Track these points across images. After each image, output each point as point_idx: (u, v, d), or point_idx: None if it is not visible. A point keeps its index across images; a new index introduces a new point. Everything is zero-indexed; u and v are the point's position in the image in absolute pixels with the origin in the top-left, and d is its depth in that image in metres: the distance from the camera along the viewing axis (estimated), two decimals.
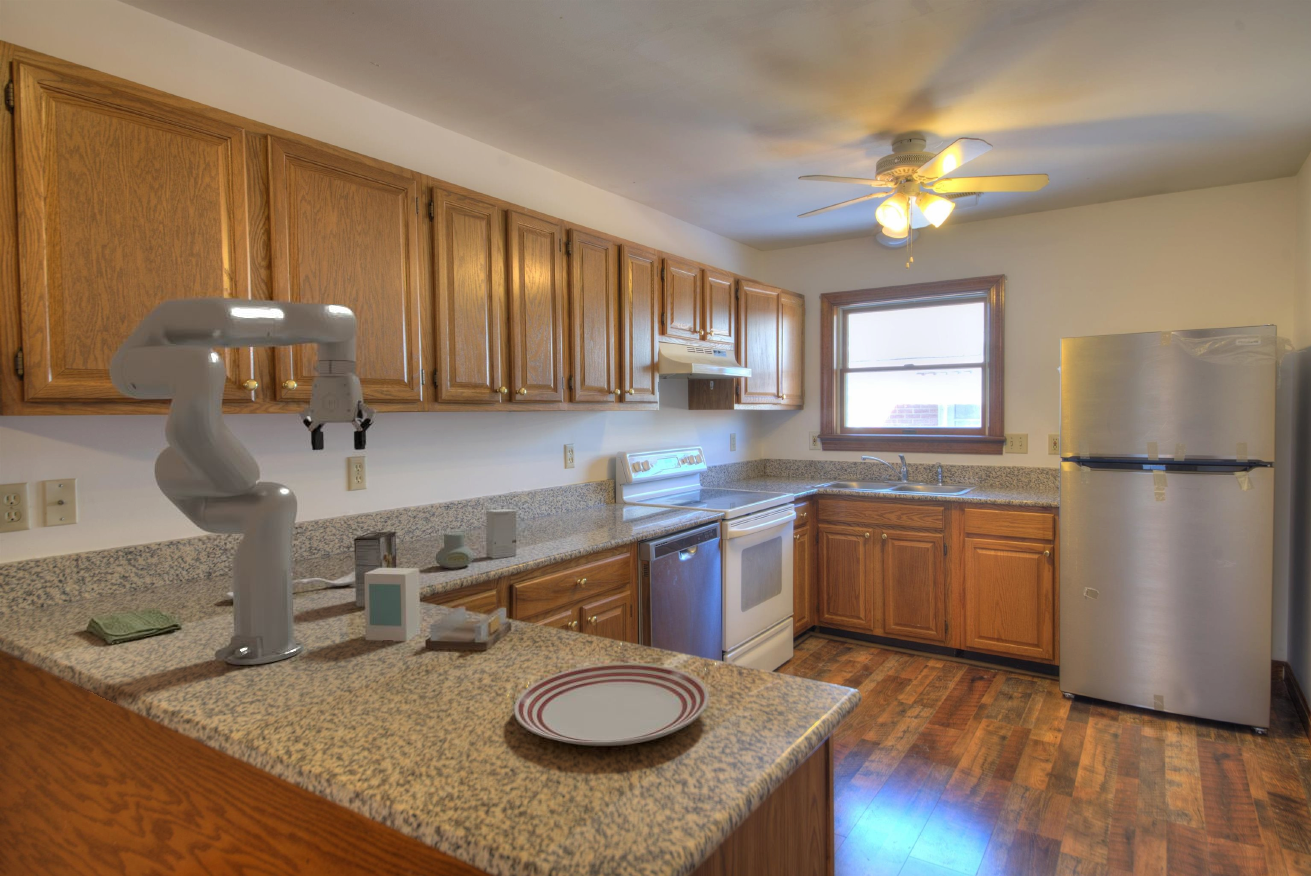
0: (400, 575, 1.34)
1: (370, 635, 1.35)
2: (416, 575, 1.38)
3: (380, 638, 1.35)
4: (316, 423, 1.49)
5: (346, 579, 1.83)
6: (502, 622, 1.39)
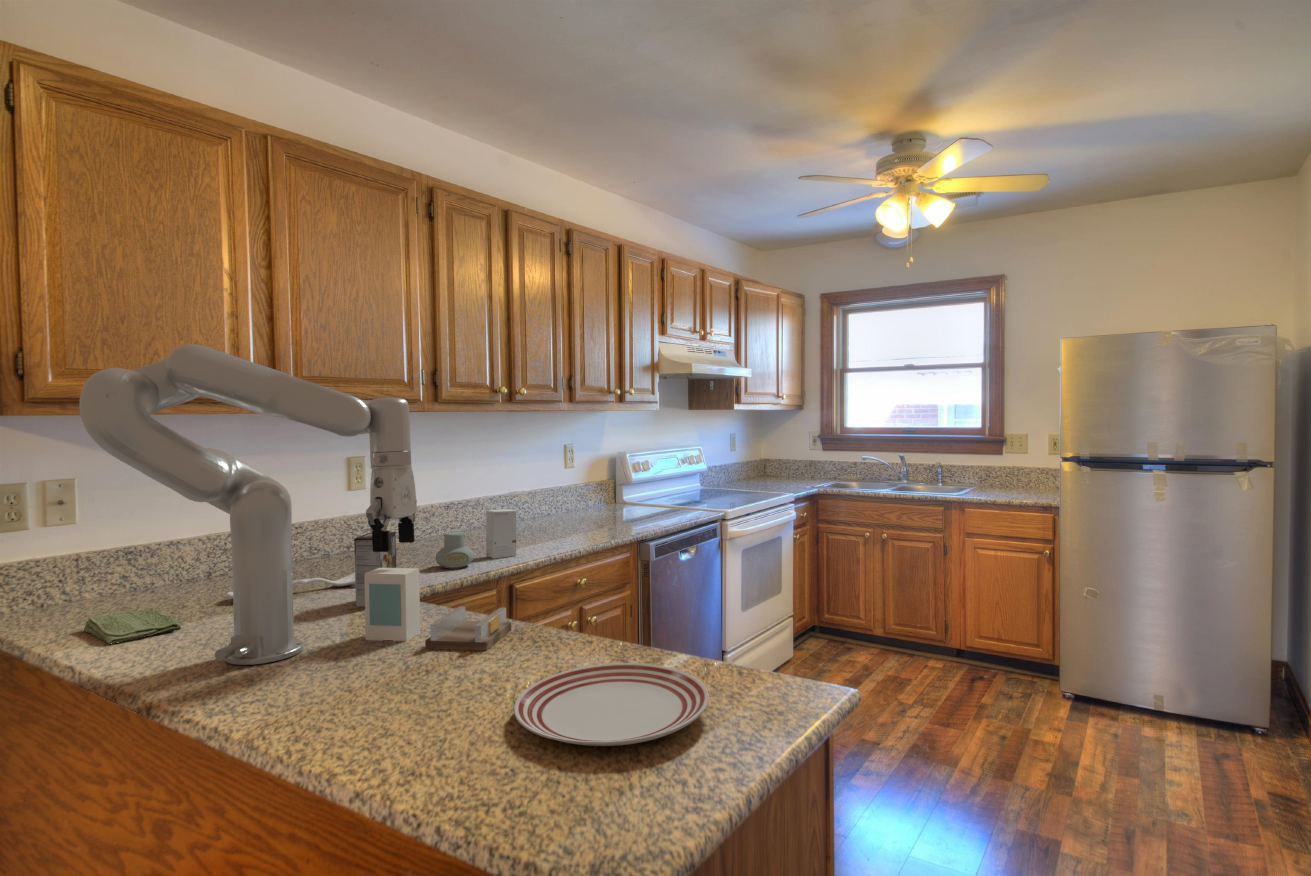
0: (400, 575, 1.34)
1: (370, 635, 1.35)
2: (416, 575, 1.38)
3: (380, 638, 1.35)
4: (388, 521, 1.33)
5: (347, 579, 1.83)
6: (502, 622, 1.39)
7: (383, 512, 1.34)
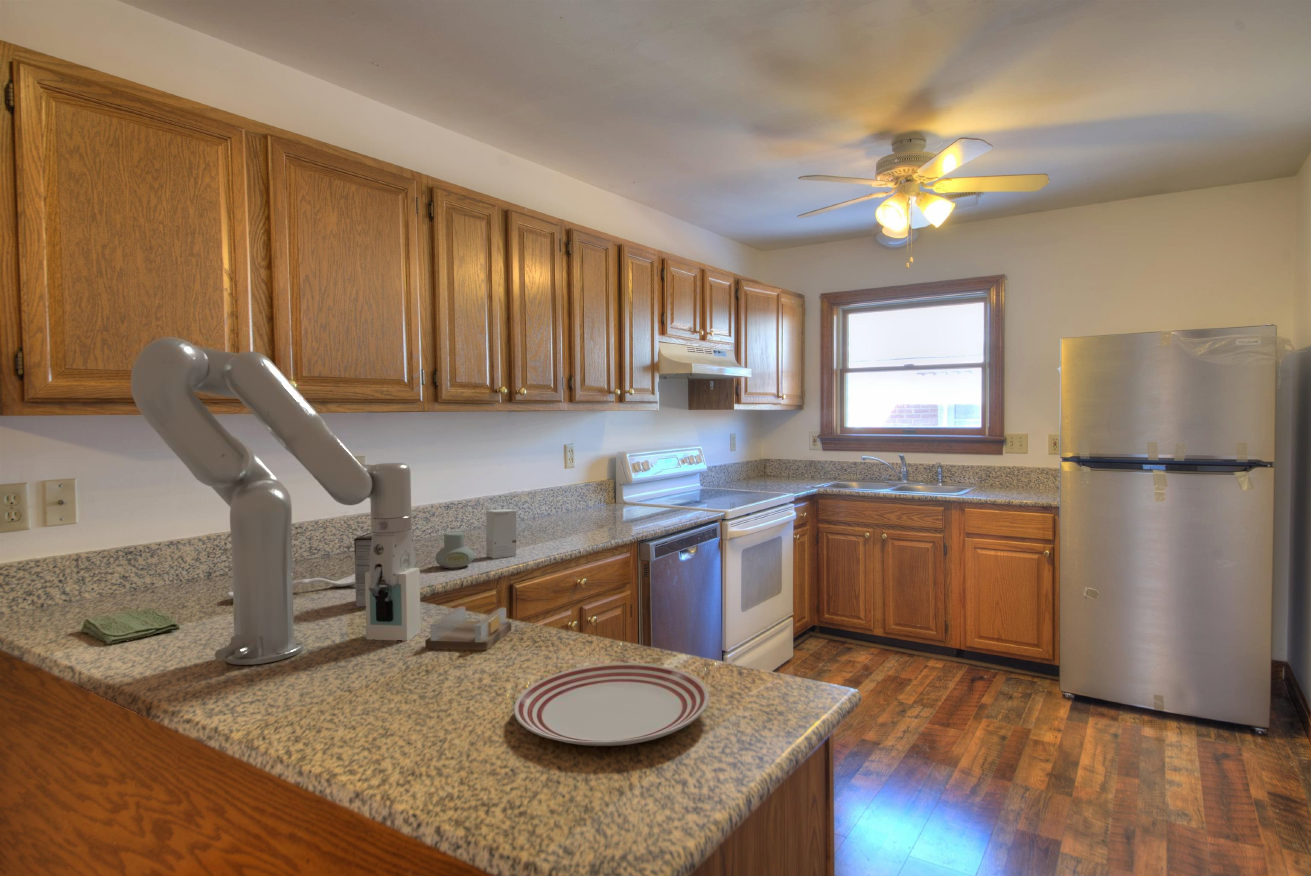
0: (401, 575, 1.34)
1: (371, 635, 1.35)
2: (417, 575, 1.38)
3: (381, 638, 1.35)
4: (391, 589, 1.34)
5: (349, 579, 1.83)
6: (502, 622, 1.39)
7: (382, 578, 1.34)
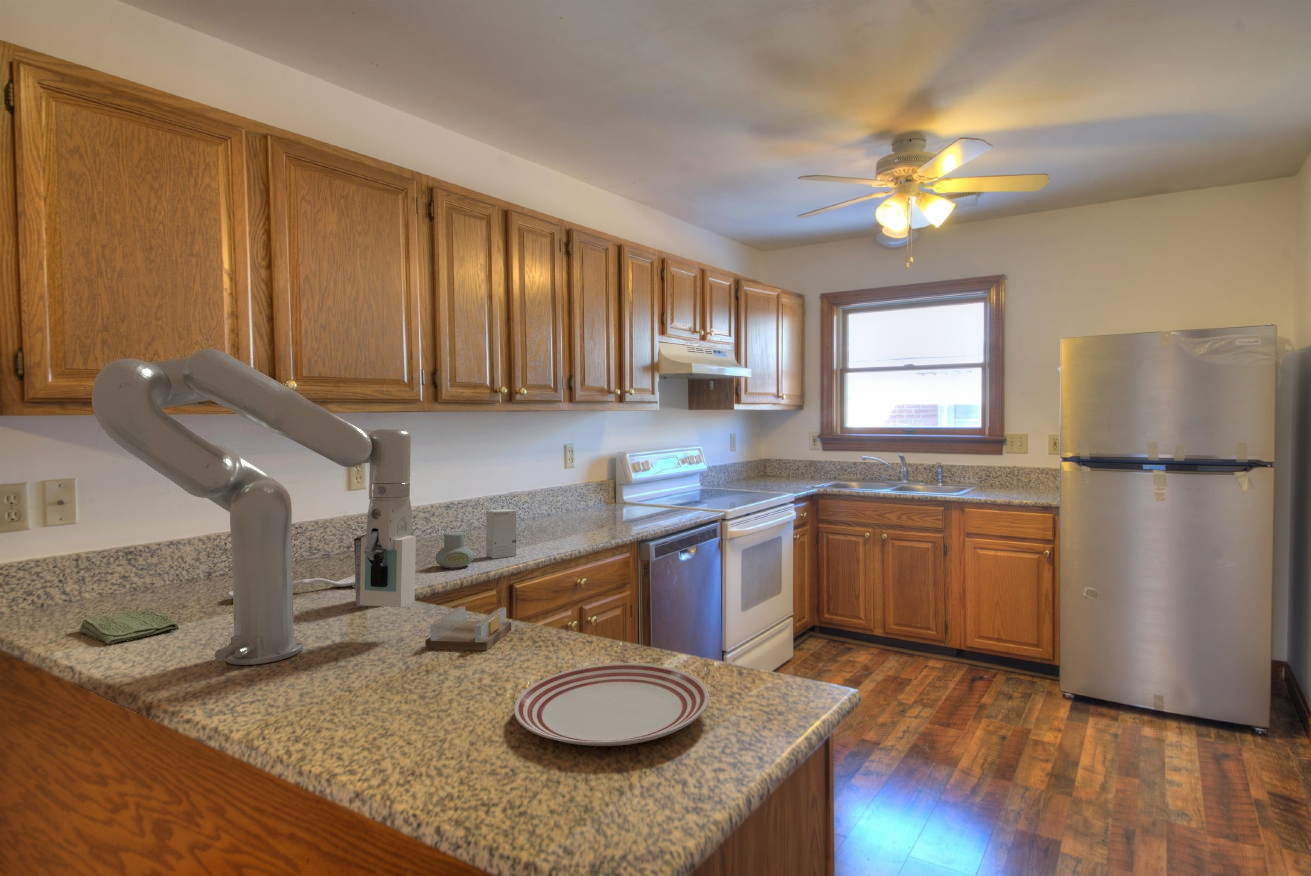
0: (397, 540, 1.34)
1: (364, 600, 1.35)
2: (413, 542, 1.38)
3: (374, 603, 1.34)
4: (386, 554, 1.34)
5: (350, 580, 1.83)
6: (502, 622, 1.39)
7: (378, 543, 1.34)
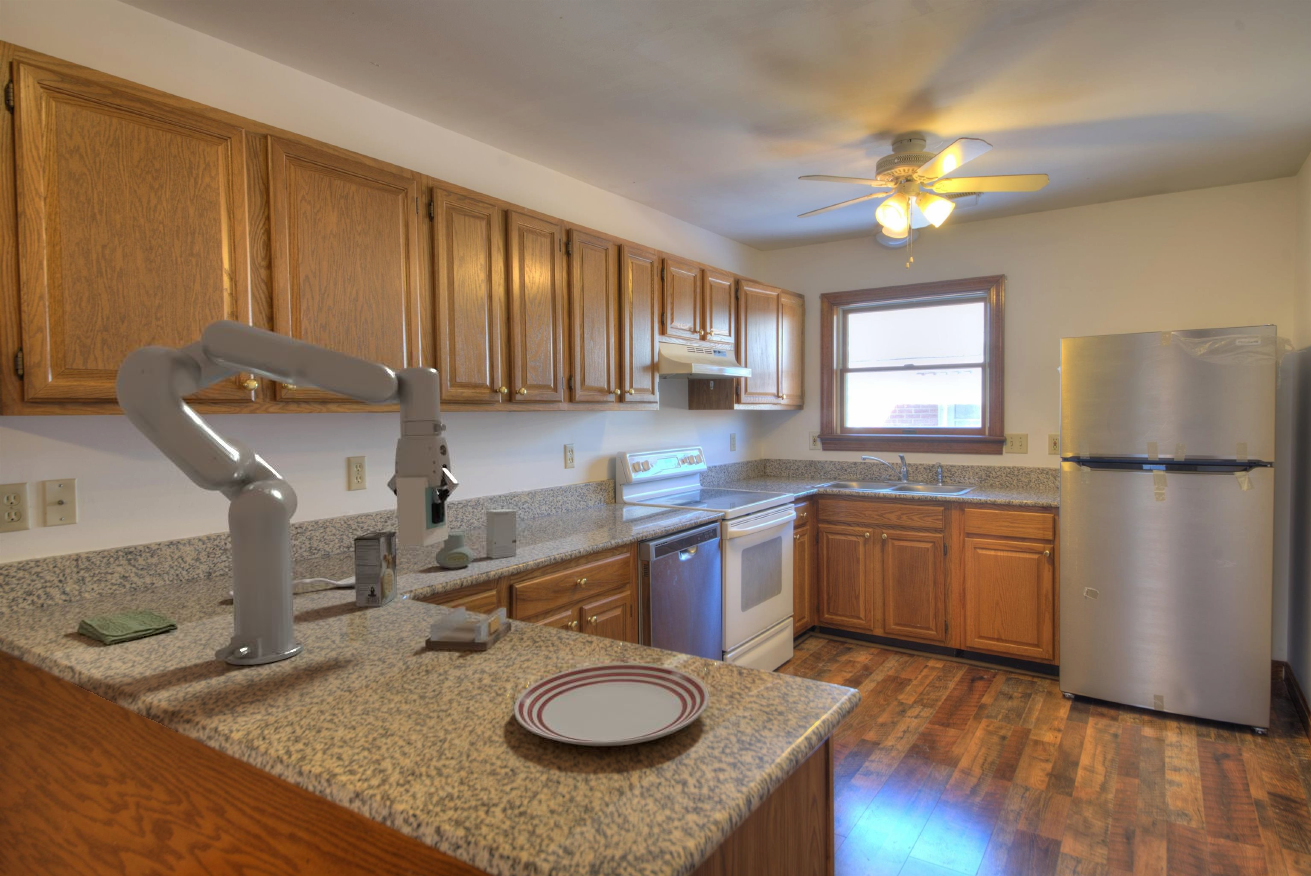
0: None
1: (426, 540, 1.33)
2: None
3: (432, 541, 1.35)
4: None
5: (351, 580, 1.82)
6: (502, 622, 1.39)
7: None
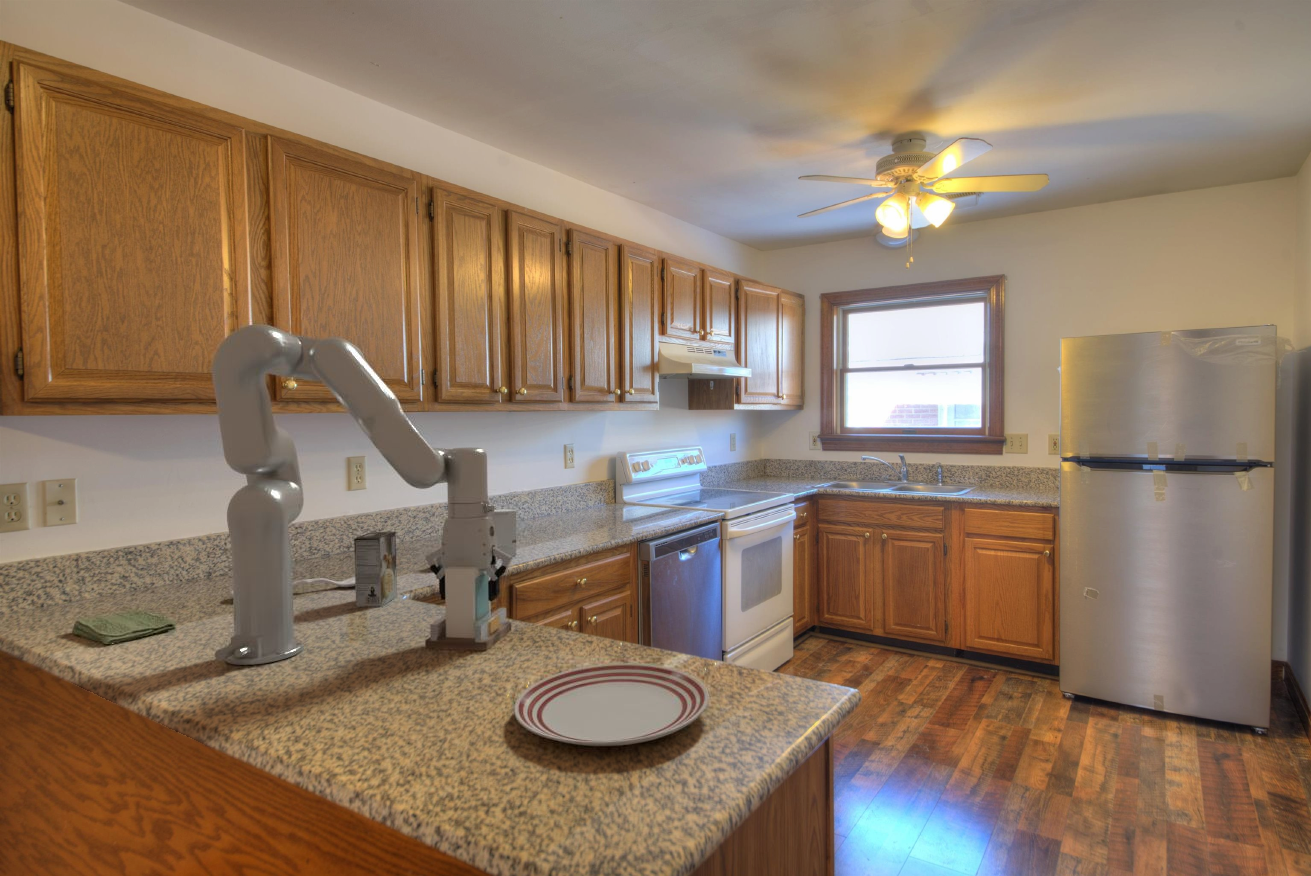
0: None
1: None
2: None
3: None
4: None
5: (353, 580, 1.82)
6: (502, 622, 1.39)
7: None
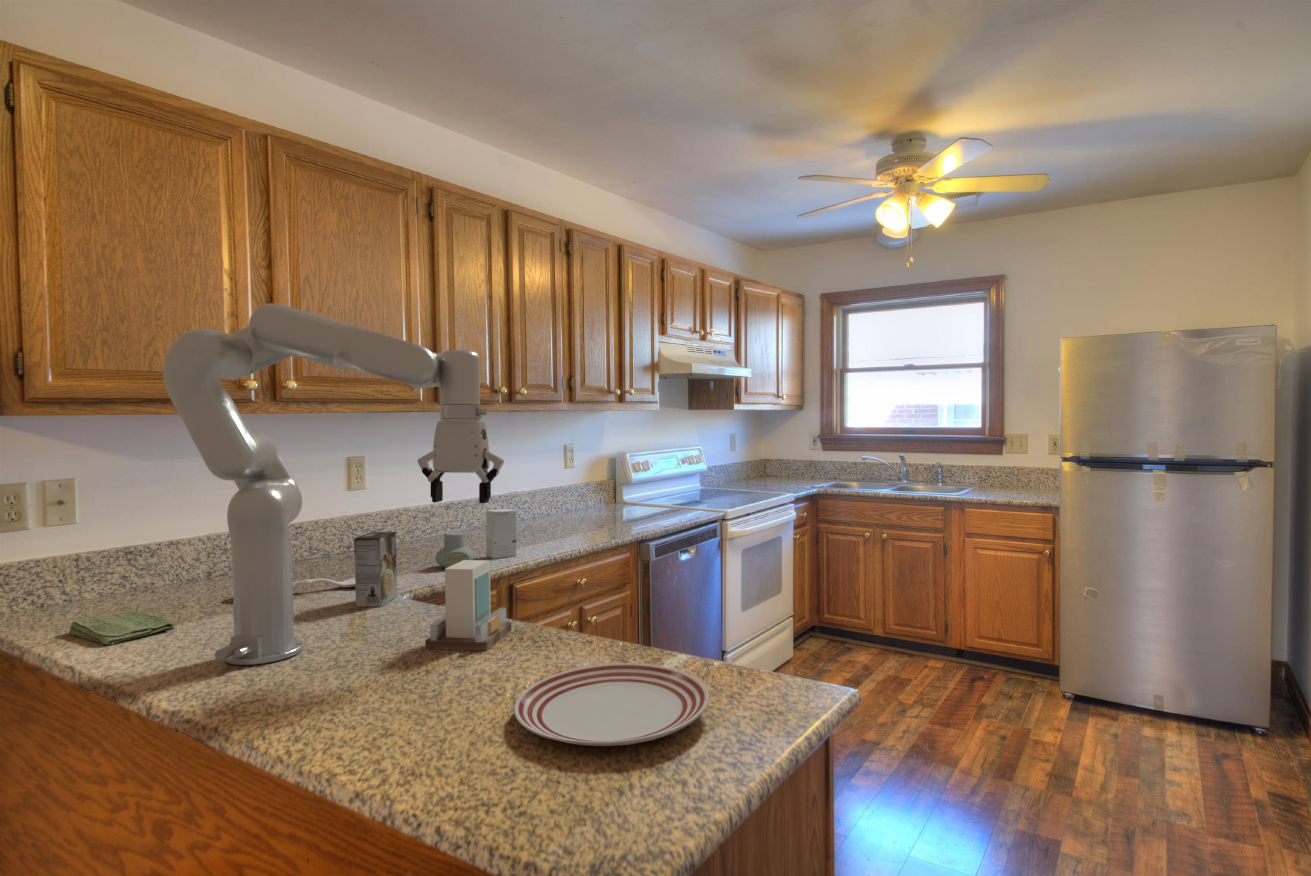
0: (487, 562, 1.38)
1: None
2: None
3: None
4: None
5: (354, 580, 1.82)
6: (502, 622, 1.39)
7: None
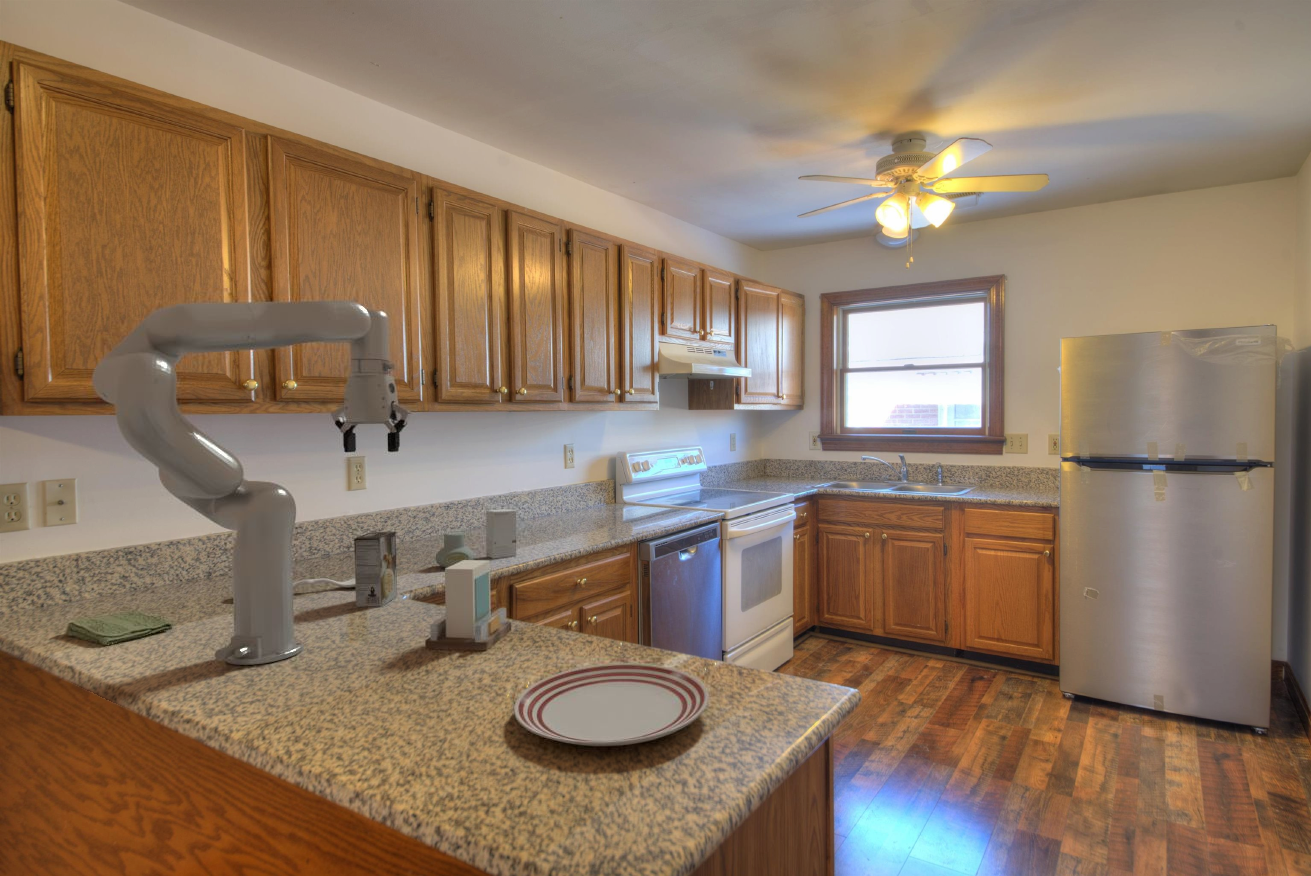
0: (487, 562, 1.38)
1: None
2: None
3: None
4: None
5: None
6: (502, 622, 1.39)
7: None
